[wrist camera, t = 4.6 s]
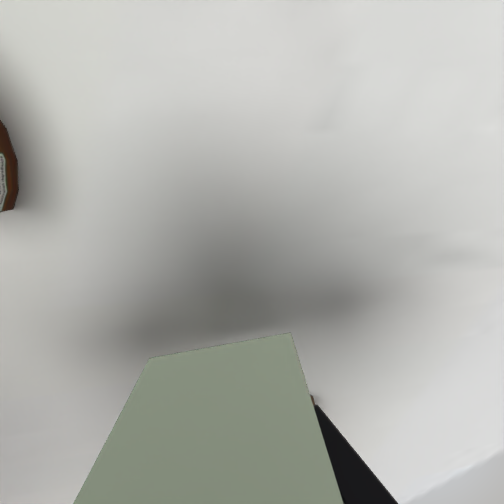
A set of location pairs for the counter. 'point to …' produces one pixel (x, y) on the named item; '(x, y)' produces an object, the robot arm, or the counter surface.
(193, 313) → the counter surface
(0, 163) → the food container
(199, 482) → the sage cube
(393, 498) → the robot arm
